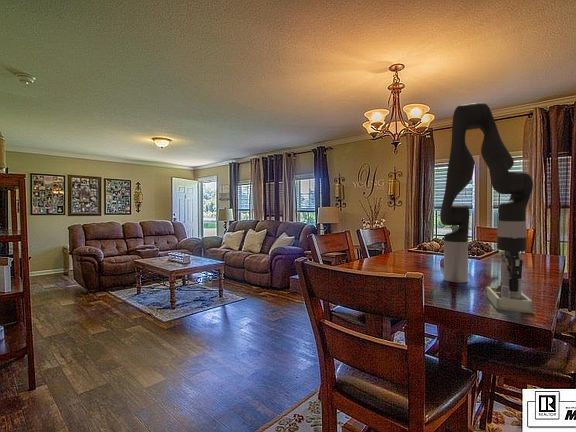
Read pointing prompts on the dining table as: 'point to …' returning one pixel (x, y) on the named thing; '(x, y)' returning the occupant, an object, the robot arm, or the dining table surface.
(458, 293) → the dining table surface
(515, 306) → the caddy
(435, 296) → the dining table surface
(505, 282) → the energy drink
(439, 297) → the dining table surface
